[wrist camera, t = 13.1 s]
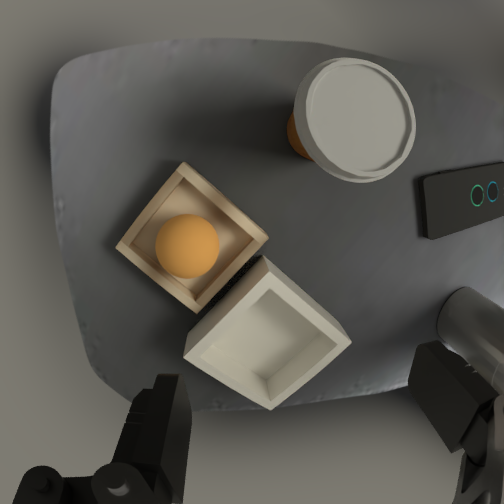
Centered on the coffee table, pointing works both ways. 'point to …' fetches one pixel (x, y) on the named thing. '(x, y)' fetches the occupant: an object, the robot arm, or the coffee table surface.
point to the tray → (211, 209)
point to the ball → (187, 246)
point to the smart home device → (461, 199)
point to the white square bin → (265, 337)
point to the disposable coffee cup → (352, 120)
